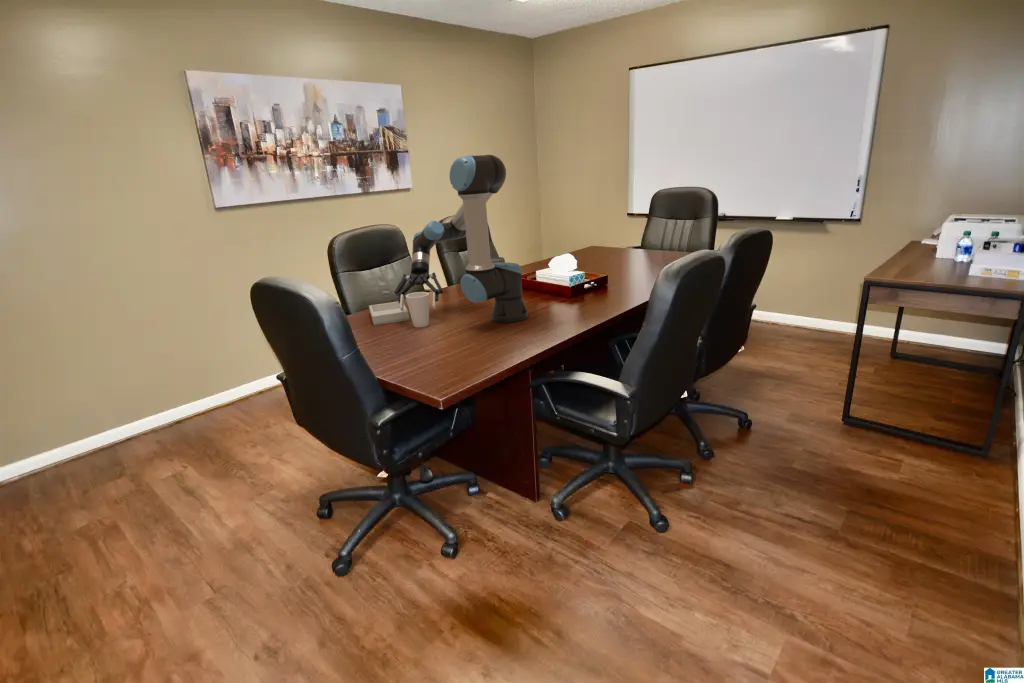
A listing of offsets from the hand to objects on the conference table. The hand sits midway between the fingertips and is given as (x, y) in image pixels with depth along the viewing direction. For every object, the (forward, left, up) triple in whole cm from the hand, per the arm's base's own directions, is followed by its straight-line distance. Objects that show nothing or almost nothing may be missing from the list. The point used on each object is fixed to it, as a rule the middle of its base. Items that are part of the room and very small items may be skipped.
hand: (417, 308), depth 217 cm
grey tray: (+20, +10, -7) cm, 23 cm away
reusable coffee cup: (+46, -47, -7) cm, 66 cm away
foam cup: (0, -1, -7) cm, 7 cm away
